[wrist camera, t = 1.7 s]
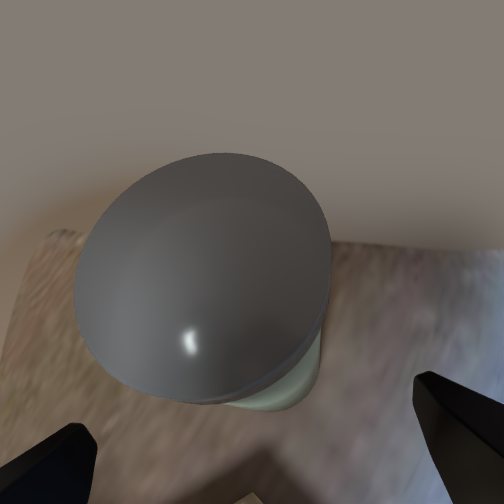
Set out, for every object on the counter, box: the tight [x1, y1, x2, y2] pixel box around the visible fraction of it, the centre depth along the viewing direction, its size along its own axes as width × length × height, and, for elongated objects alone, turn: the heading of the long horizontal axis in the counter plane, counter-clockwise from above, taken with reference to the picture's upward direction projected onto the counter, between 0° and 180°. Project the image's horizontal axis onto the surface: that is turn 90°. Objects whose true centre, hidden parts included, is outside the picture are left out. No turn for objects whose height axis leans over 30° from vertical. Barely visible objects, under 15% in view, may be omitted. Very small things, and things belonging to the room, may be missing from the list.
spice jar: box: [74, 153, 332, 412], centre depth 12 cm, size 6×6×13 cm
